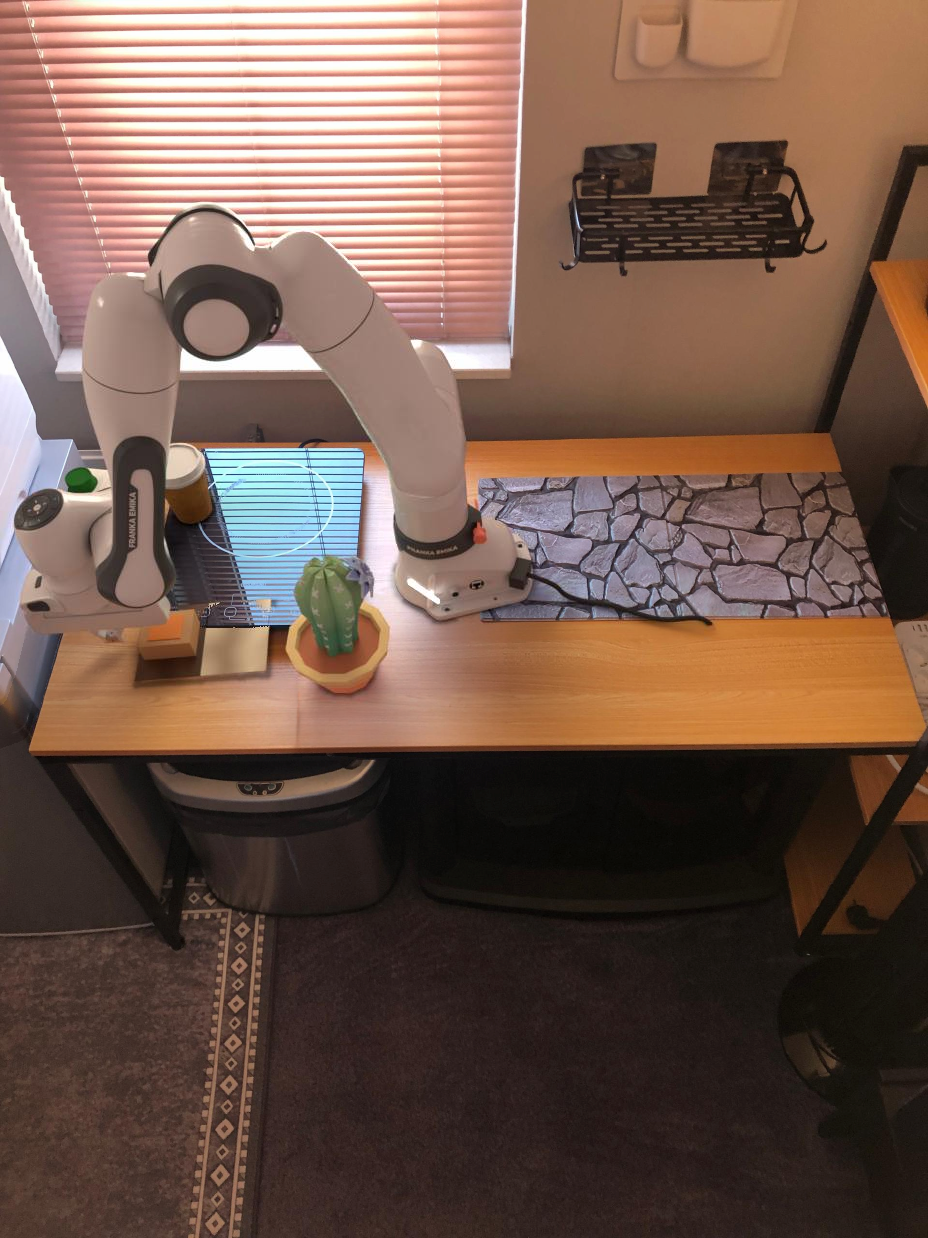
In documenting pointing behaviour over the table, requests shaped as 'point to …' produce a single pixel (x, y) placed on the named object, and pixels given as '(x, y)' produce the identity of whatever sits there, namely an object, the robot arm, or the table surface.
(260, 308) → the robot arm
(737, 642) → the table surface
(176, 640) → the coffee packet
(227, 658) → the board
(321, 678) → the potted cactus
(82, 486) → the milk carton
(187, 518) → the disposable coffee cup
